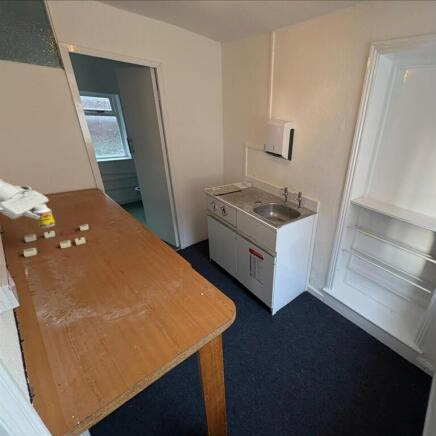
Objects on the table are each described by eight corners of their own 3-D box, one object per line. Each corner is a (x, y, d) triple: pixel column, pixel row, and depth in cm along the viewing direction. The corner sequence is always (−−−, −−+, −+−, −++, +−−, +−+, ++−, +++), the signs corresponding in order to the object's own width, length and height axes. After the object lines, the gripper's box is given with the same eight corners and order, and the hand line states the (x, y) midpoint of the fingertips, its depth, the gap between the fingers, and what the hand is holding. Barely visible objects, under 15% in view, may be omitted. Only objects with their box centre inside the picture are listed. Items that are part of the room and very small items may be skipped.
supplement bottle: (38, 229, 107) (30, 208, 103) (40, 225, 111) (31, 205, 107) (55, 226, 110) (47, 206, 106) (56, 222, 114) (48, 202, 110)
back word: (25, 242, 115) (24, 239, 114) (26, 239, 119) (25, 235, 118) (89, 229, 131) (88, 226, 130) (88, 226, 134) (87, 223, 133)
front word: (25, 257, 104) (23, 252, 104) (26, 253, 107) (24, 249, 106) (85, 242, 118) (84, 239, 117) (85, 240, 120) (84, 236, 119)
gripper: (-7, 198, 93) (33, 219, 99) (30, 185, 111) (62, 203, 117) (-17, 209, 93) (24, 229, 100) (23, 194, 111) (55, 212, 118)
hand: (45, 215), depth 108 cm, fingers closed on supplement bottle, 5 cm apart
